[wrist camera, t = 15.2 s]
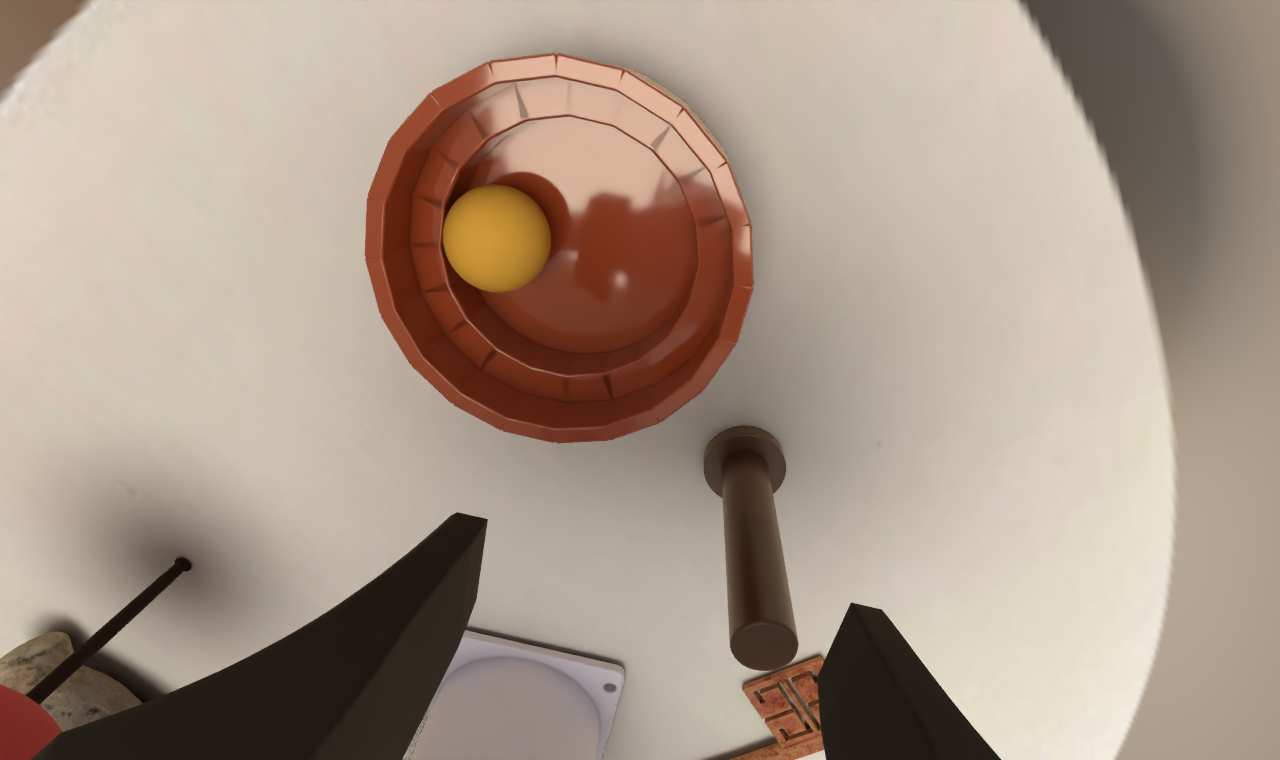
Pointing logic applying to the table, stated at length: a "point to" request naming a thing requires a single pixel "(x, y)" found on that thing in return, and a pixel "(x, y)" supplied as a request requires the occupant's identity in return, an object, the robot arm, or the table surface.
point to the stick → (753, 546)
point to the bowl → (565, 248)
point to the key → (787, 712)
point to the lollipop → (18, 726)
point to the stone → (78, 695)
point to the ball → (497, 238)
